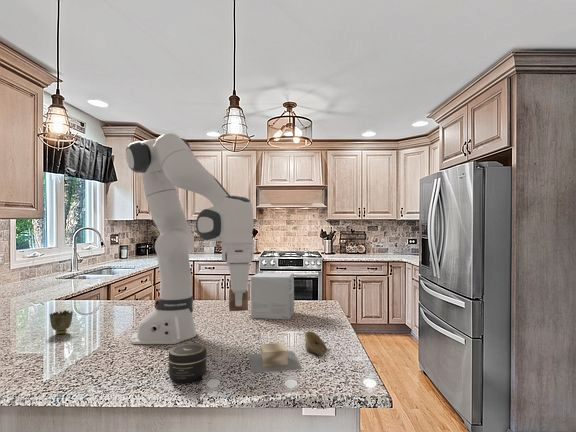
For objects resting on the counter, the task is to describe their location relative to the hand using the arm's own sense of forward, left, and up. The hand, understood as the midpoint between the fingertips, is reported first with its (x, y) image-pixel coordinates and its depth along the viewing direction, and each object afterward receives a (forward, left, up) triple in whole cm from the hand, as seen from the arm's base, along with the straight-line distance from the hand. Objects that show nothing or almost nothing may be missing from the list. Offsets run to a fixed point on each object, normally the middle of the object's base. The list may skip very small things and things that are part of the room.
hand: (237, 303), depth 104 cm
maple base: (+11, +3, -18) cm, 21 cm away
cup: (-63, +49, -19) cm, 82 cm away
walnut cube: (0, 0, -2) cm, 2 cm away
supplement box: (+19, +59, -19) cm, 65 cm away
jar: (-13, -1, -19) cm, 24 cm away
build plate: (+11, +3, -19) cm, 22 cm away
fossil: (+25, +8, -19) cm, 32 cm away
